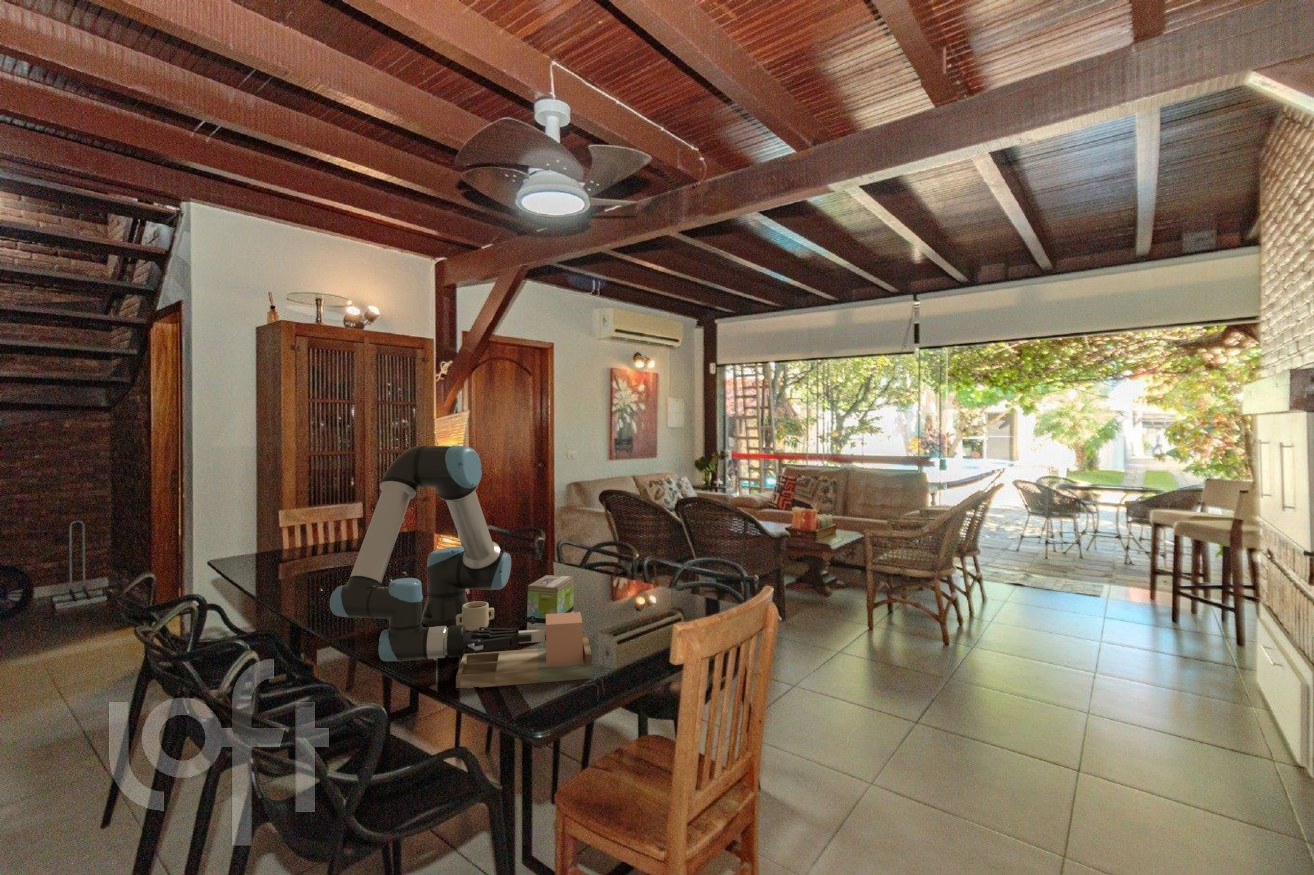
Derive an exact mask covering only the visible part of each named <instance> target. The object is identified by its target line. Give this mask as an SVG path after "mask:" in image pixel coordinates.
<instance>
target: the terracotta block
mask: <svg viewBox="0 0 1314 875" xmlns="http://www.w3.org/2000/svg"><path fill="white" fill-rule="evenodd" d="M583 625H584V624H583V618H582V614H581V612H580V611H578V612H575V611H574V613H556V614H546V635H545V648H546V665H554V664H567V663H581V662H583V635H584V632H583V631H584V628H583Z"/></svg>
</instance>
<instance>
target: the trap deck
mask: <svg viewBox="0 0 1314 875" xmlns="http://www.w3.org/2000/svg"><path fill="white" fill-rule="evenodd" d="M592 655H593V654H592V651H591V646H590V642H589V637H588V634H586V633H585V634H584V633H583V662H581V663H567V664H554V665H546V647H545V648H544V647H543V648H531V649H530V648H529V649H528V648H527V649H517V650H504V651H503V650H502V651H501V650H500V651H484V652H481V653H464V655H463V656H462V657H461V661H460V664H459V667H458V670H457V673H456V675H455V689H456V688H467V689H473V688H472V687H479V688H491V687H502V686H503V687H504V686H514V685H516V686H517V685H528V684H538V683H539V684H540V683H552V682H564V681H565V682H566V681H575V680H578V681H579V680H589V679H592V678H593V670H592V668H593V664H592V663H593V660H592V658H593V657H592ZM469 687H470V688H469Z"/></svg>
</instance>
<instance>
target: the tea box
mask: <svg viewBox="0 0 1314 875" xmlns="http://www.w3.org/2000/svg"><path fill="white" fill-rule="evenodd" d="M574 595H575V578H574V576H569V575H551V574H550V575H549V574H546V575H543V576H542V577H540V578H538V579H537V580H535V581H534V582H531V583H529V584H528V585H527V603H526V604H527V611H526V613H527V614H526V616H527V617H526V618H527V619H526V630H540V629H545V636H546V614H556V613H574V612H575V610H574V609H575V608H574V604H575V603H574V602H575V598H574V597H575V596H574Z"/></svg>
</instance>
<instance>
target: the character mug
mask: <svg viewBox="0 0 1314 875" xmlns="http://www.w3.org/2000/svg"><path fill="white" fill-rule="evenodd" d="M489 613H490V615H489ZM460 617H462V622H460ZM494 619H495V608H494V607H490V606H489V602H487V601H481V600H480V601H478V600H477V601H476V600H475V601H470V602H469V601H468V603H465V604H463V606H462V614H458V615H456V625H464V626H465V631H466V632H471V631H473V630H479V628H480V627H486V628H489V627H488V626H489V624H490V622H489V621H491V620H494ZM465 652H466V653H469V654H471V653H474V650H467V649H465Z"/></svg>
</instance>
